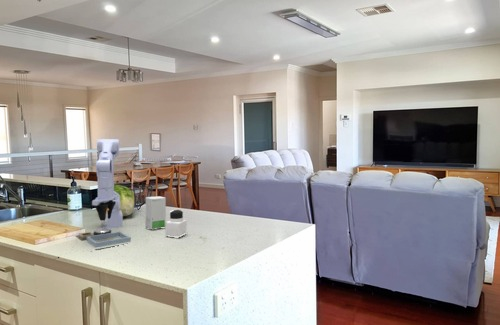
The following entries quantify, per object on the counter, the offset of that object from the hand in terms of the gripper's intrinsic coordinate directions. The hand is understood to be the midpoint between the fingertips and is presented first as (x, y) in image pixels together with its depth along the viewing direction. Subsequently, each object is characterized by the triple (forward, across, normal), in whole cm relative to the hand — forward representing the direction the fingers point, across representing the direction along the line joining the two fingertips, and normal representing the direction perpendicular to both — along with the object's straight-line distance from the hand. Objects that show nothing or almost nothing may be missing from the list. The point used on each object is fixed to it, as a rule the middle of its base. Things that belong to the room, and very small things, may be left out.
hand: (105, 219), depth 165 cm
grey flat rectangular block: (+10, -5, -9) cm, 15 cm away
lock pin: (+3, 0, 0) cm, 3 cm away
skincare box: (+11, -30, +8) cm, 33 cm away
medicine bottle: (+11, -20, +24) cm, 33 cm away
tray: (+10, 0, +2) cm, 11 cm away
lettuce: (+10, -49, -24) cm, 56 cm away
